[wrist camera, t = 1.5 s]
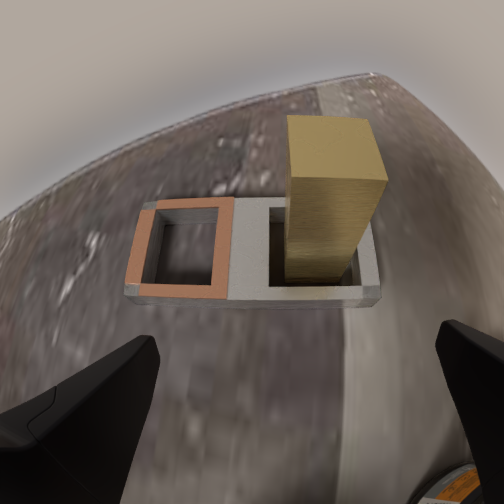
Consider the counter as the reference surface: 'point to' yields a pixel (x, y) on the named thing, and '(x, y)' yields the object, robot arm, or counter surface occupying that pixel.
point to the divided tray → (238, 260)
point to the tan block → (328, 194)
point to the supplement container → (452, 487)
